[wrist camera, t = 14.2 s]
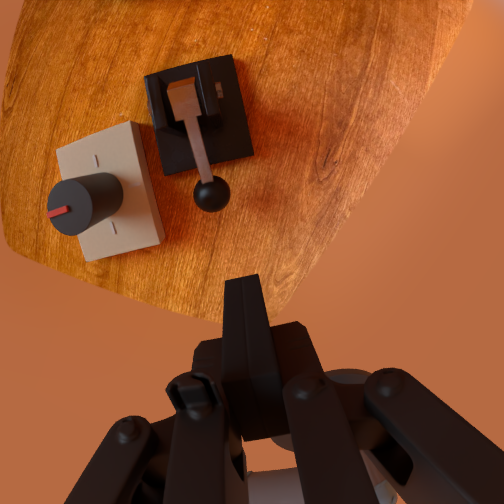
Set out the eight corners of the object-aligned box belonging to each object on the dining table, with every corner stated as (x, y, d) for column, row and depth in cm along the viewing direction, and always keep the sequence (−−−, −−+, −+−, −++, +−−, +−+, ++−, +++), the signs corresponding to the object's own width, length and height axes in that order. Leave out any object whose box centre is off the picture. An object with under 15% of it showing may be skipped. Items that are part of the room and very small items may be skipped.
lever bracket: (253, 155, 33) (264, 155, 22) (167, 175, 33) (135, 186, 22) (232, 57, 29) (232, 15, 18) (147, 79, 29) (110, 48, 18)
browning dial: (117, 166, 29) (83, 172, 22) (128, 210, 31) (97, 229, 23) (80, 179, 29) (40, 189, 22) (90, 221, 31) (54, 242, 23)
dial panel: (165, 236, 35) (160, 244, 32) (95, 254, 35) (85, 262, 32) (138, 122, 31) (129, 120, 28) (67, 149, 31) (54, 149, 28)
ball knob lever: (231, 193, 32) (235, 215, 29) (198, 201, 32) (198, 223, 29) (203, 73, 22) (203, 82, 19) (161, 84, 22) (156, 95, 19)
